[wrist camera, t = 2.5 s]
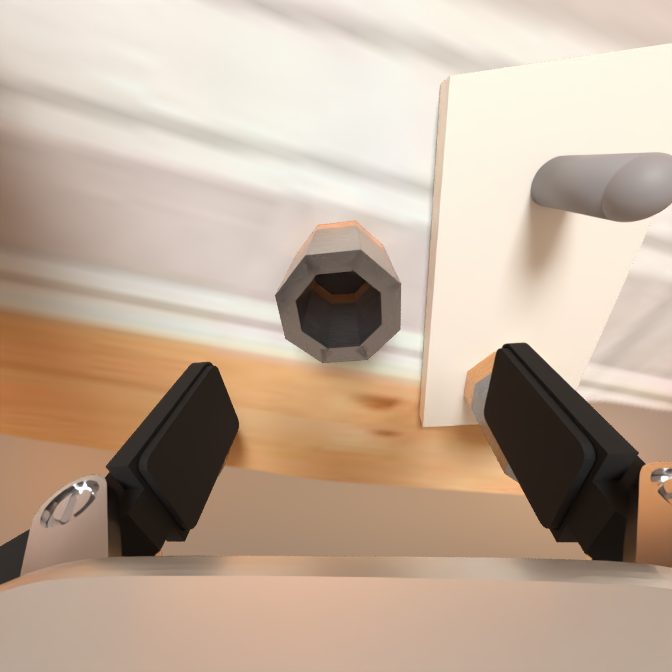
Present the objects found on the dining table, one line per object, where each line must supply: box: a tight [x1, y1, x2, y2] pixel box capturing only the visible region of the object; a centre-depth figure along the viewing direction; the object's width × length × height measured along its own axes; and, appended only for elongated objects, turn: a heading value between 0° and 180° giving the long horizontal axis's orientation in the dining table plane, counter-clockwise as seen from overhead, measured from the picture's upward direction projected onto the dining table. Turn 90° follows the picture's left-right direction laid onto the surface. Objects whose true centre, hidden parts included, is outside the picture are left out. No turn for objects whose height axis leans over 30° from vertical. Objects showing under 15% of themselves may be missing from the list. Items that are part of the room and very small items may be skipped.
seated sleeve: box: [464, 352, 519, 483], centre depth 19 cm, size 6×6×7 cm
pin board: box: [419, 43, 672, 427], centre depth 17 cm, size 24×12×8 cm, turn 6°
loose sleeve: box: [275, 221, 401, 363], centre depth 16 cm, size 6×6×7 cm
